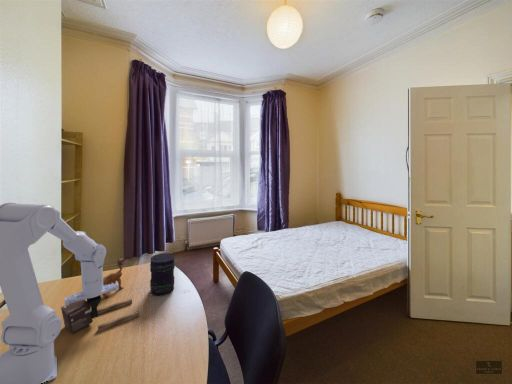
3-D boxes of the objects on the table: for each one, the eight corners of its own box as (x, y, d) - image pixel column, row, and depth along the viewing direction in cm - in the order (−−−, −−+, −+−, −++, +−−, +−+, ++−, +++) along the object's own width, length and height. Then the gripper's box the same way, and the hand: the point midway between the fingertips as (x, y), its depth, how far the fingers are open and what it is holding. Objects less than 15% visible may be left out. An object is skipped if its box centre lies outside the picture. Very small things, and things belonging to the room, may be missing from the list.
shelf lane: (98, 331, 71) (98, 327, 70) (94, 314, 79) (94, 310, 79) (139, 316, 79) (139, 312, 79) (131, 302, 87) (131, 298, 87)
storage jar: (173, 282, 103) (174, 252, 102) (175, 293, 94) (175, 260, 93) (150, 286, 99) (150, 254, 97) (149, 298, 90) (149, 263, 89)
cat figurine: (87, 310, 82) (84, 276, 80) (76, 306, 84) (73, 272, 82) (130, 286, 98) (128, 257, 96) (120, 282, 101) (118, 254, 99)
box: (71, 334, 69) (66, 314, 67) (64, 326, 72) (60, 307, 71) (93, 322, 74) (89, 303, 72) (86, 315, 77) (82, 296, 76)
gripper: (115, 268, 81) (116, 302, 82) (63, 280, 71) (65, 319, 72) (119, 275, 75) (120, 311, 77) (64, 290, 66) (66, 331, 67)
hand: (94, 316), depth 74 cm, fingers closed, pressing on box
